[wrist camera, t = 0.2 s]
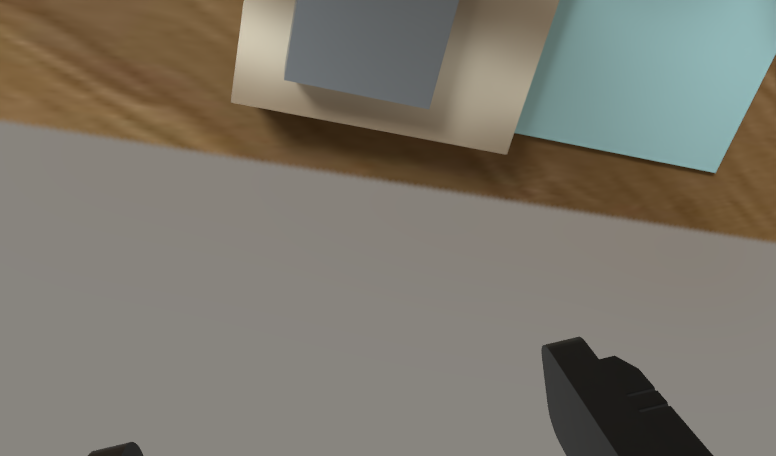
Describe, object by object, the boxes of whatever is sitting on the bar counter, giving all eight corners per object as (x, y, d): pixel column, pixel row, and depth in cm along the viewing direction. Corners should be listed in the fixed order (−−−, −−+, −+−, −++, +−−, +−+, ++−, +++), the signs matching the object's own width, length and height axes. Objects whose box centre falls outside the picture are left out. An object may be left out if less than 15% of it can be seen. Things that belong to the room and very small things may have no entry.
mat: (582, -148, 27) (586, -148, 27) (830, -67, 30) (836, -67, 30) (493, 126, 33) (495, 128, 32) (711, 170, 36) (715, 173, 36)
